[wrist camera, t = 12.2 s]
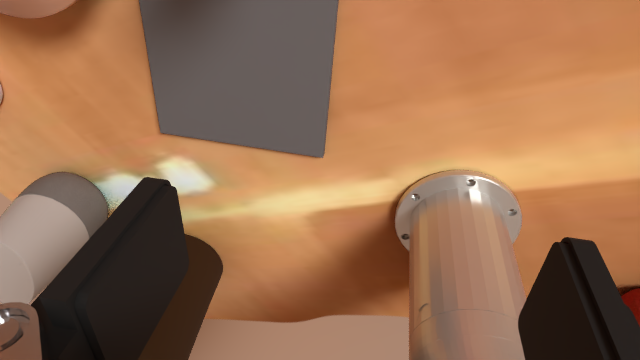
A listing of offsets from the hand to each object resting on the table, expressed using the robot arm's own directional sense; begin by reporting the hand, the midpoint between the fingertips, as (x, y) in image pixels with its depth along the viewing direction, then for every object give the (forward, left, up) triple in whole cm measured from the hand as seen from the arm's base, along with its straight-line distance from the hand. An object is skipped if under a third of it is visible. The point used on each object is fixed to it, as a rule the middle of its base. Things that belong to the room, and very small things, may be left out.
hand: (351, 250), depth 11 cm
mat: (-8, +13, -29) cm, 33 cm away
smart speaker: (-28, +34, -30) cm, 53 cm away
